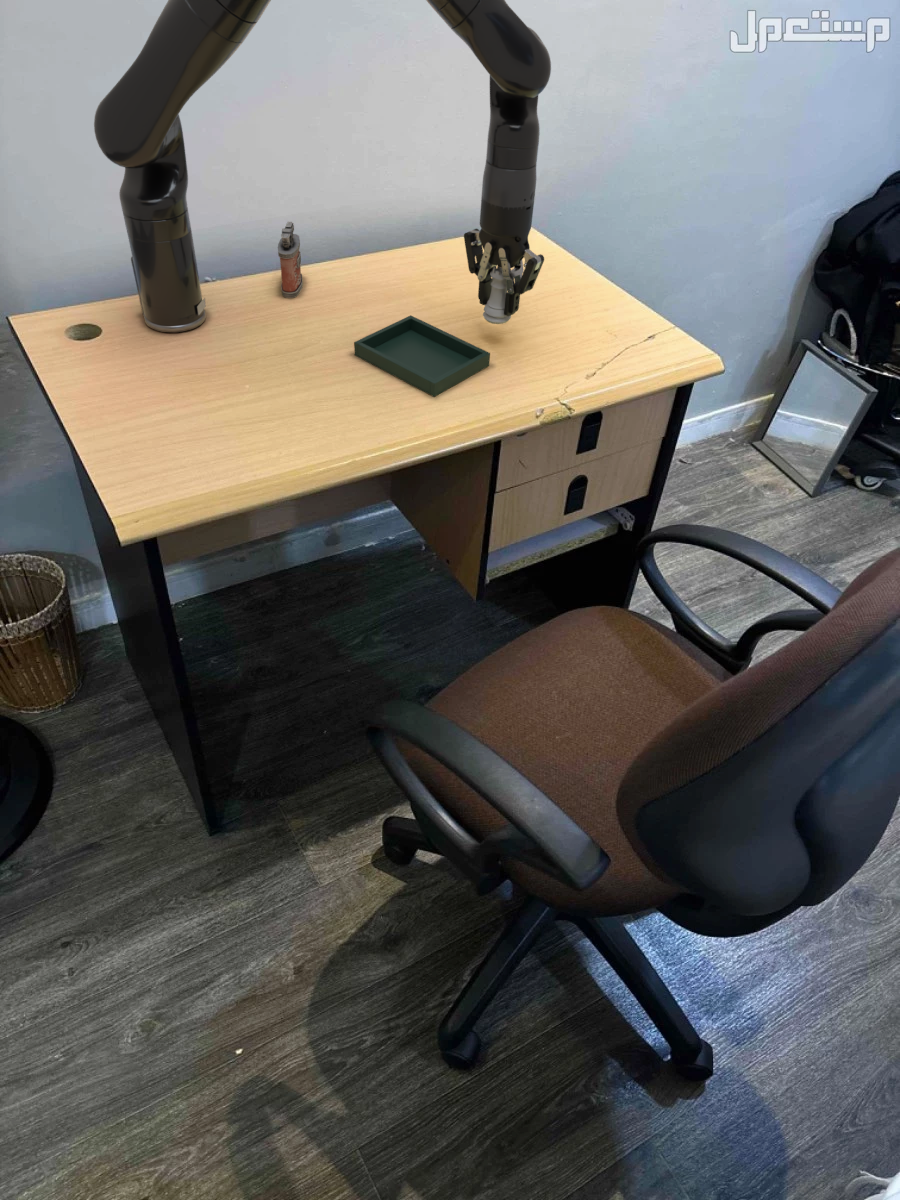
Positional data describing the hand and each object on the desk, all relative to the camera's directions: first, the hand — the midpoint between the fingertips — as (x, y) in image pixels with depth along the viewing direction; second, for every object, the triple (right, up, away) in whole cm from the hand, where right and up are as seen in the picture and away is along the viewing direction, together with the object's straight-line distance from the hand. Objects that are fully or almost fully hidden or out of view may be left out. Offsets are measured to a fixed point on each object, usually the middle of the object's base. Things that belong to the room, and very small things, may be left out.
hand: (497, 308), depth 136 cm
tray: (-12, -8, -1) cm, 15 cm away
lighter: (-34, +8, +14) cm, 38 cm away
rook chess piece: (0, -1, +1) cm, 2 cm away
